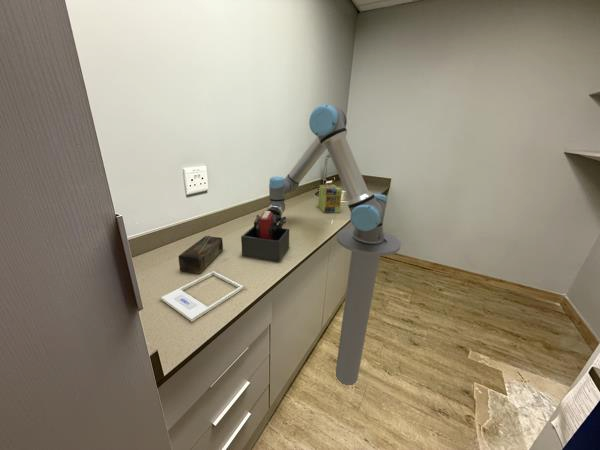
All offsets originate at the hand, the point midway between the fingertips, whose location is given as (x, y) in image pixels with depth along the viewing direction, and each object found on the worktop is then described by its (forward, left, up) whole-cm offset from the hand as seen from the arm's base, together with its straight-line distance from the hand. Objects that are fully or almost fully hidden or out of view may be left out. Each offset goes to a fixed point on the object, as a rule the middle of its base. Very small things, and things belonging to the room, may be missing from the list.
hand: (263, 232), depth 92 cm
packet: (+1, -5, -7) cm, 9 cm away
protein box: (-16, -76, -11) cm, 79 cm away
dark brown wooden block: (+21, +9, -11) cm, 25 cm away
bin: (+1, -5, -11) cm, 12 cm away
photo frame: (+9, +27, -11) cm, 30 cm away
